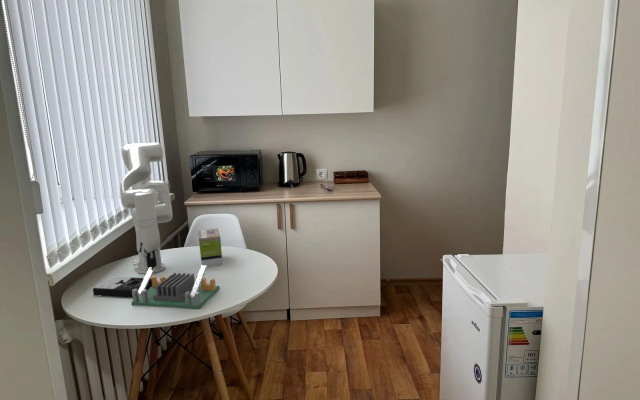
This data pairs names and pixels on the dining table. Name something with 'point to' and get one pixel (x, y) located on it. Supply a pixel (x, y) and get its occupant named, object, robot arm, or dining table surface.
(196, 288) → the strap right
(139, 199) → the robot arm
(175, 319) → the dining table surface
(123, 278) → the multimeter
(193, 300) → the cooler board
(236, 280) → the dining table surface
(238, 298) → the dining table surface
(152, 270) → the strap left
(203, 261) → the tea box
